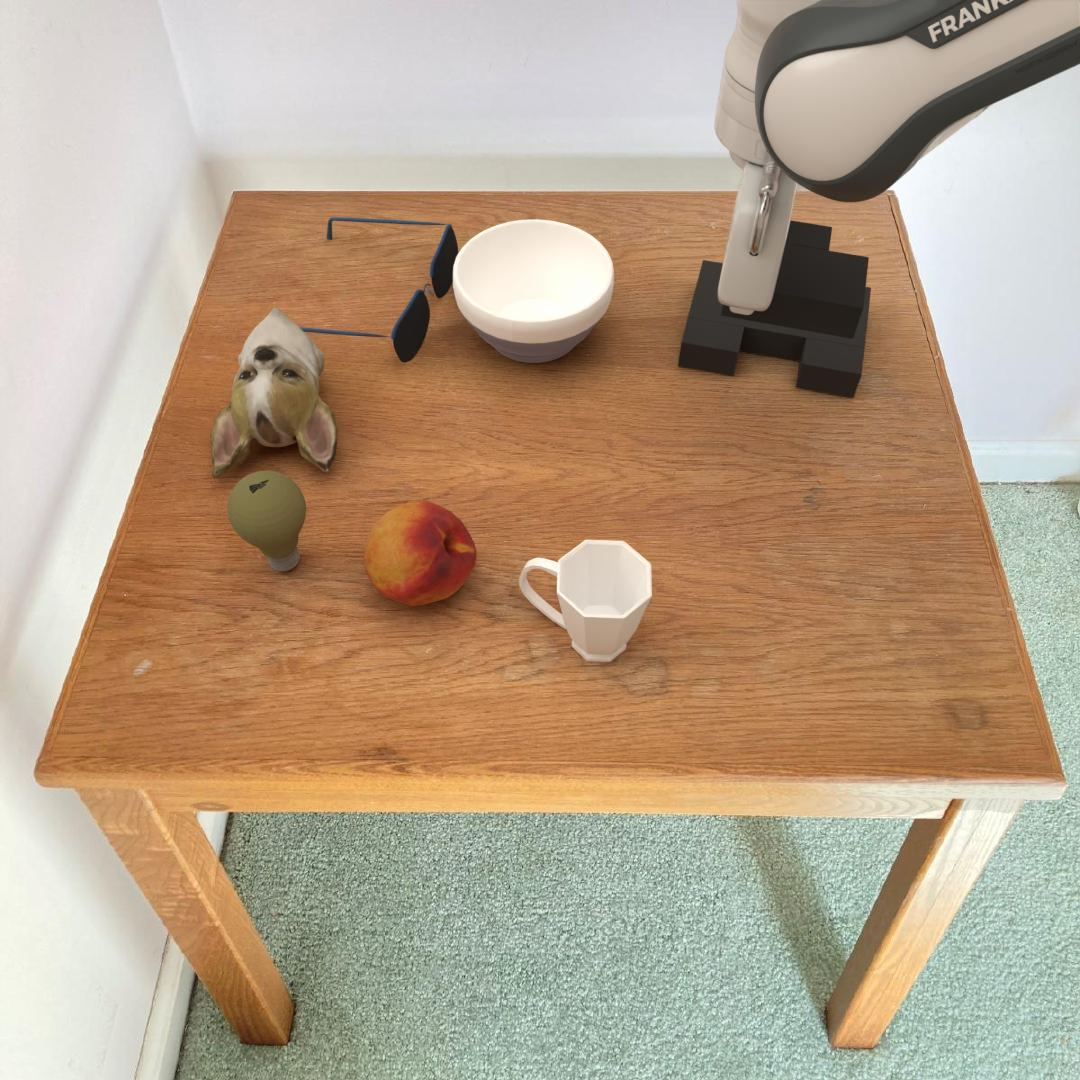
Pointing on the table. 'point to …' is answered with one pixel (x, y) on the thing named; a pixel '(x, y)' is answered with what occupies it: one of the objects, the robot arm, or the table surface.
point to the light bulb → (269, 516)
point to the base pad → (768, 342)
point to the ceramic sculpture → (275, 399)
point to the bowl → (533, 287)
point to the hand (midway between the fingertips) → (748, 276)
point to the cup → (596, 595)
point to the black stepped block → (815, 285)
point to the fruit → (419, 553)
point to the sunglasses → (417, 312)
